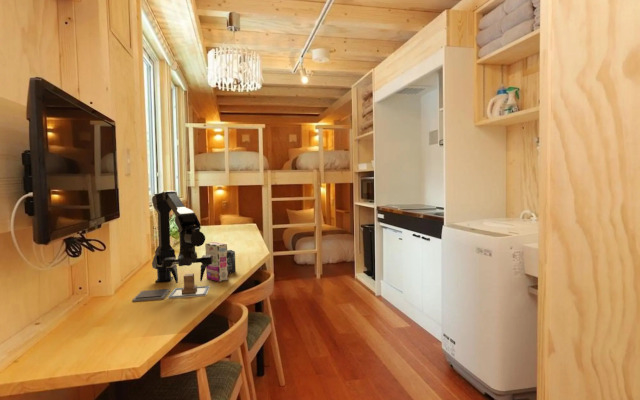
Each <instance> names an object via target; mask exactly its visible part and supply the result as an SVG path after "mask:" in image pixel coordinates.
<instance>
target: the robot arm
mask: <svg viewBox="0 0 640 400" xmlns="http://www.w3.org/2000/svg"><path fill="white" fill-rule="evenodd" d="M151 202H152V204H153V205H152V206H153V208H154V210H155V211H156V213H157V230H158V245H157V247H156V249H155V250H154V251H155V252H154V257H153V259H152V262H151V266H152V269H154V270H157V271H156V273H157V276H156V279H155V283H162V282H163V283H164V282H171V281H172V280H173V279H174V282H175V283H176V284H179V277H178V275H179V274H178V267H184V266H185V267H186V266H187V267H189V266H192V264H196V263H197V264H199V263H201V265H200V276H199V280H200V282H202V281H203V279H204V274H205V271H206V267H207V266H209V264H212V263H213V256H212V255H206V254H205V255H202V256H201V257H198V254H197V251H196V247H201V246H203V245H204V243H205V241H206V236H205V234H204V233H203V232H202V231H201V229H202V227H201V223H200V220H199V219H198V216H197V215H196V213H195V212H194V210H192V209H190V208H188V207H186V206H185V204H184V203H183V201H182V200H181V199H180V197H179V195H178V193H177V191H175V190H164V191H161V192H160V193H155V194H154V195H153V196H152V198H151ZM171 211H172V212H173V213H174V215H175V216H174V222H175V225H176V227H177V232H178V236H179V239H178V240H179V253H178V256H177V255H176V253H175V252H176V251H175V249H174V248H173V246H171V233H170V232H171V230H170V227H171V226H170V213H171ZM177 265H178V266H177Z"/></svg>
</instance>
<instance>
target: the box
mask: <svg viewBox="0 0 640 400" xmlns="http://www.w3.org/2000/svg"><path fill="white" fill-rule="evenodd" d="M227 259H228V275H229V274H235V273H236V270H237V269H236V251H234V250H233V249H227Z"/></svg>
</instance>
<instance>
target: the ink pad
mask: <svg viewBox="0 0 640 400" xmlns="http://www.w3.org/2000/svg"><path fill="white" fill-rule="evenodd" d="M169 293H171V289H170V288H161V289H160V288H159V289H149V290H145V289H144V290H142V291H140V292H139V293H138V294H136V296H134V297H133V299H132V300H131V302H132V303H135V302H147V301H148V302H149V301H160V300H165V298H166V297H167V296H168V295H169Z"/></svg>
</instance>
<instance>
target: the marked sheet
mask: <svg viewBox="0 0 640 400" xmlns="http://www.w3.org/2000/svg"><path fill="white" fill-rule="evenodd" d="M182 288H183V287H175V288H174V289H173V290H172V291H171V292H170V294H168V297H167V298H166V300H171V299H181V298H196V297H206V296H207V295H208V292H209V291H210V288H211V285H210V286H209V285H203V286H202V285H201V286H199V285H198V286H197V291H196V293H195V294H182Z"/></svg>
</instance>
